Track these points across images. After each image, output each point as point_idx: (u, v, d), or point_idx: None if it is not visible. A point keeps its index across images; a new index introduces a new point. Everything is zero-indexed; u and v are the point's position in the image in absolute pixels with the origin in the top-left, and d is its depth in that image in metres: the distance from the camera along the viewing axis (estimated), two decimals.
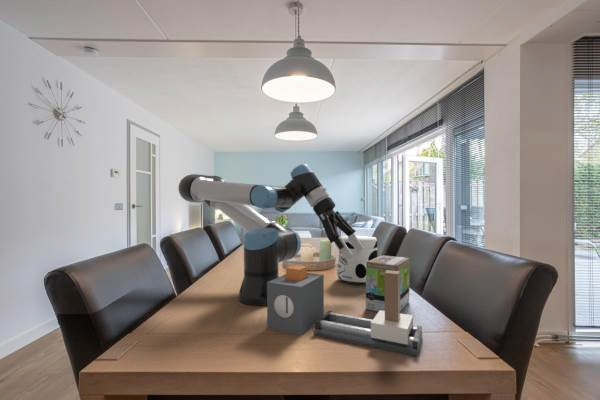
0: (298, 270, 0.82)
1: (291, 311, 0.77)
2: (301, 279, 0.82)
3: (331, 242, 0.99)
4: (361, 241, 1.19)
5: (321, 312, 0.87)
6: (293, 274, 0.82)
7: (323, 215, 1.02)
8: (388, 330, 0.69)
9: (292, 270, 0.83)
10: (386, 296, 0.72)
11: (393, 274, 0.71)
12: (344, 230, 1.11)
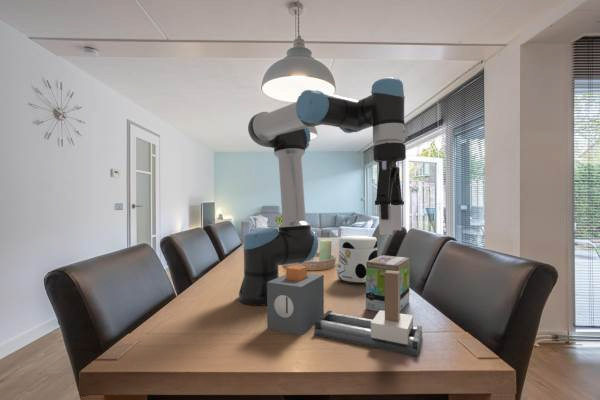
0: (298, 270, 0.82)
1: (291, 311, 0.77)
2: (301, 279, 0.82)
3: (375, 204, 0.68)
4: (361, 241, 1.19)
5: (321, 312, 0.87)
6: (293, 274, 0.82)
7: (386, 164, 0.69)
8: (388, 330, 0.69)
9: (292, 270, 0.83)
10: (386, 296, 0.72)
11: (393, 274, 0.71)
12: (392, 195, 0.80)
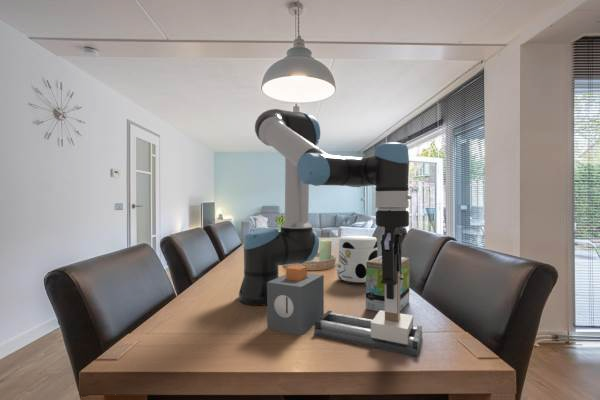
0: (298, 270, 0.82)
1: (291, 311, 0.77)
2: (301, 279, 0.82)
3: (382, 283, 0.71)
4: (361, 241, 1.19)
5: (321, 312, 0.87)
6: (293, 274, 0.82)
7: (389, 246, 0.67)
8: (388, 330, 0.69)
9: (292, 270, 0.83)
10: None
11: None
12: None
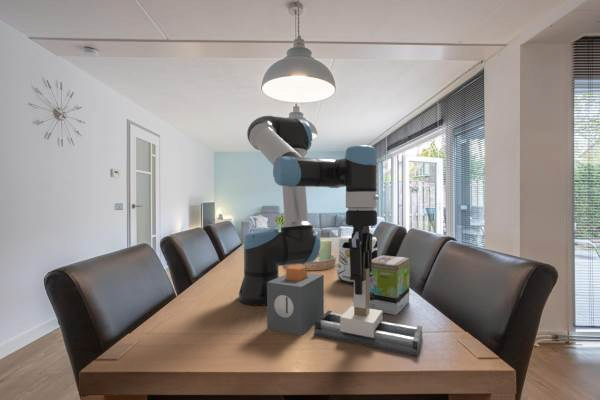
0: (298, 270, 0.82)
1: (291, 311, 0.77)
2: (301, 279, 0.82)
3: (351, 279, 0.74)
4: None
5: (321, 312, 0.87)
6: (293, 274, 0.82)
7: (356, 244, 0.70)
8: (356, 324, 0.72)
9: (292, 270, 0.83)
10: None
11: None
12: None
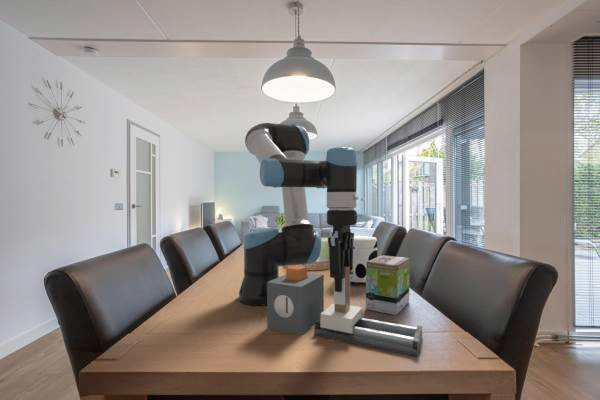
0: (298, 270, 0.82)
1: (291, 311, 0.77)
2: (301, 279, 0.82)
3: (331, 277, 0.77)
4: (361, 241, 1.19)
5: (321, 312, 0.87)
6: (293, 274, 0.82)
7: (335, 242, 0.73)
8: (335, 320, 0.74)
9: (292, 270, 0.83)
10: None
11: None
12: None
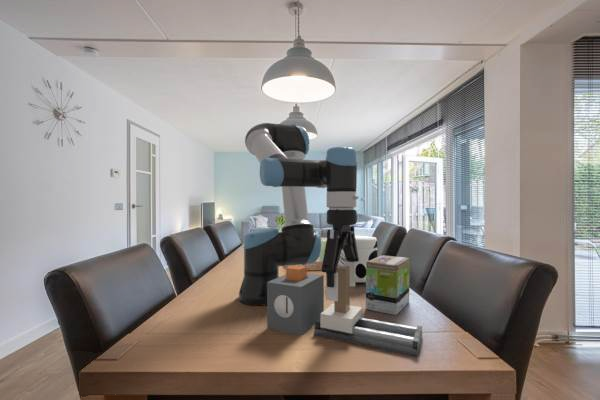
0: (298, 270, 0.82)
1: (291, 311, 0.77)
2: (301, 279, 0.82)
3: (322, 271, 0.72)
4: (361, 241, 1.19)
5: (321, 312, 0.87)
6: (293, 274, 0.82)
7: (334, 234, 0.72)
8: (335, 320, 0.74)
9: (292, 270, 0.83)
10: None
11: (341, 269, 0.77)
12: (346, 253, 0.83)
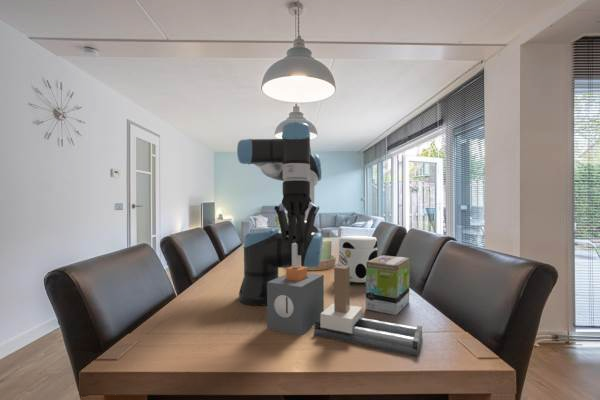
0: (298, 270, 0.82)
1: (291, 311, 0.77)
2: (301, 279, 0.82)
3: (295, 241, 0.87)
4: (361, 241, 1.19)
5: (321, 312, 0.87)
6: (293, 274, 0.82)
7: None
8: (335, 320, 0.74)
9: (292, 270, 0.83)
10: (335, 289, 0.78)
11: (341, 269, 0.77)
12: None
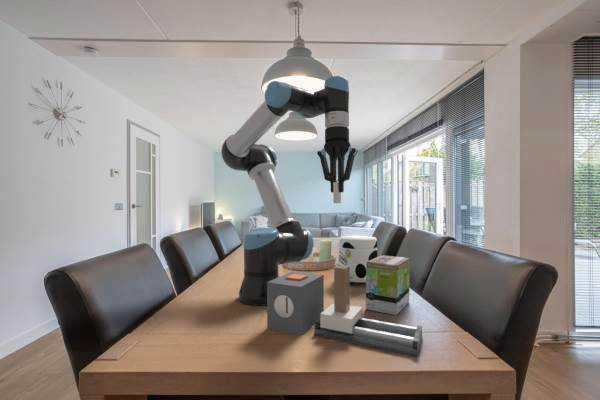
0: (298, 279, 0.82)
1: (291, 311, 0.77)
2: None
3: (335, 182, 0.99)
4: (361, 241, 1.19)
5: (321, 312, 0.87)
6: None
7: None
8: (335, 320, 0.74)
9: (292, 279, 0.83)
10: (335, 289, 0.78)
11: (341, 269, 0.77)
12: None
